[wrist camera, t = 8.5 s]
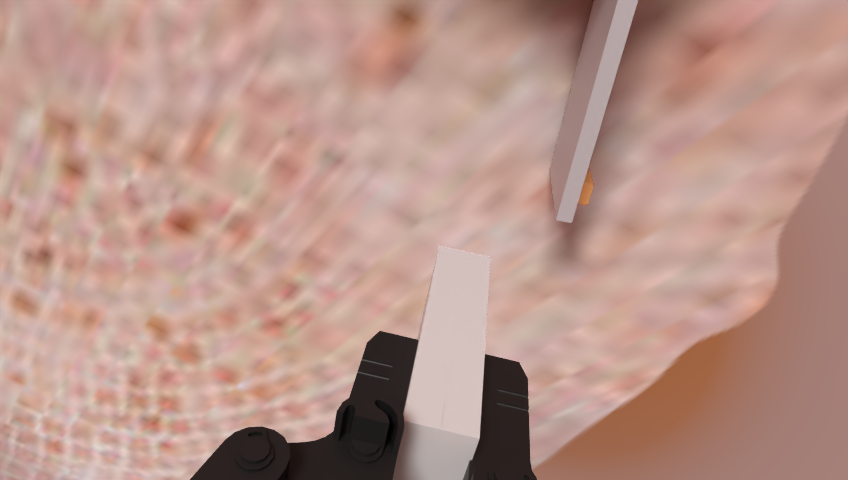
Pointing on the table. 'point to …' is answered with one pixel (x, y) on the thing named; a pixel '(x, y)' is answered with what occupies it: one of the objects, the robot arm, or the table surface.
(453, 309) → the robot arm
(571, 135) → the door
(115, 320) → the table surface
